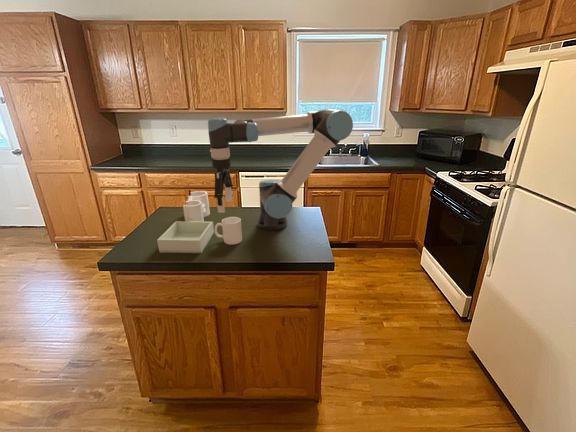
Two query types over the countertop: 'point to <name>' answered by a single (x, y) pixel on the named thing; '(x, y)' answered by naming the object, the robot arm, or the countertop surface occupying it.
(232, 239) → the cup
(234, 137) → the robot arm
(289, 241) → the countertop surface
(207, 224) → the tub
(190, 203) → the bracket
